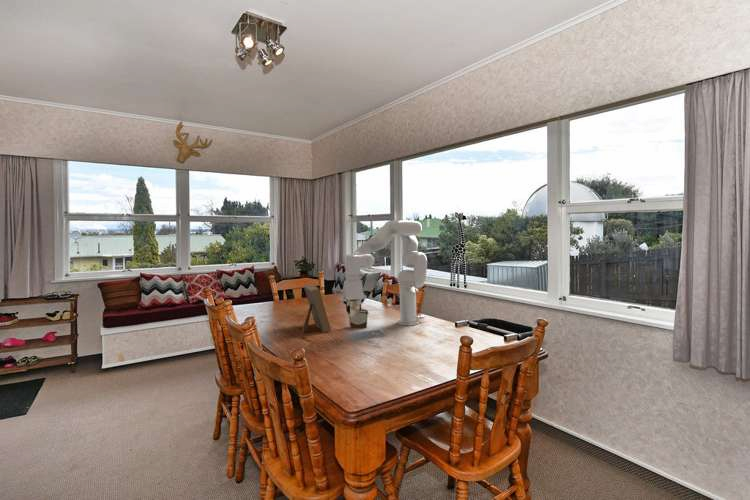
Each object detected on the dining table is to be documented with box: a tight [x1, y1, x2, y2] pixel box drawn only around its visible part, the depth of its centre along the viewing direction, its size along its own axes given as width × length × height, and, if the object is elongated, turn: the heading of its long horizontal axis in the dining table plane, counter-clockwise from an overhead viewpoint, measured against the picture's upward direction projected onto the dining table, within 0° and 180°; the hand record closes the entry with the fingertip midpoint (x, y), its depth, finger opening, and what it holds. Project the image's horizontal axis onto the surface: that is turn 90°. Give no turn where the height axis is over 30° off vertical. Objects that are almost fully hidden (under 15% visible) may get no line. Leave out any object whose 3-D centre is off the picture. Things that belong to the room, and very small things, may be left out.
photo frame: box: [302, 282, 332, 334], centre depth 220 cm, size 15×22×25 cm
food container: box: [347, 308, 370, 329], centre depth 222 cm, size 12×6×10 cm, turn 84°
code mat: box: [344, 329, 388, 342], centre depth 204 cm, size 20×14×1 cm
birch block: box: [347, 300, 360, 317], centre depth 201 cm, size 5×5×8 cm
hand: (353, 312), depth 201 cm, fingers closed on birch block, 5 cm apart
